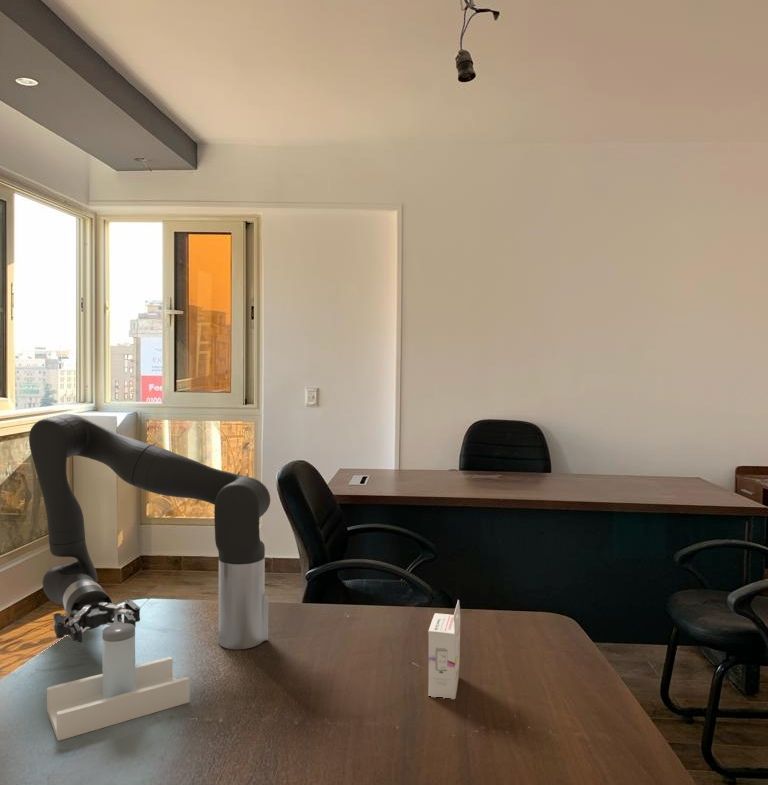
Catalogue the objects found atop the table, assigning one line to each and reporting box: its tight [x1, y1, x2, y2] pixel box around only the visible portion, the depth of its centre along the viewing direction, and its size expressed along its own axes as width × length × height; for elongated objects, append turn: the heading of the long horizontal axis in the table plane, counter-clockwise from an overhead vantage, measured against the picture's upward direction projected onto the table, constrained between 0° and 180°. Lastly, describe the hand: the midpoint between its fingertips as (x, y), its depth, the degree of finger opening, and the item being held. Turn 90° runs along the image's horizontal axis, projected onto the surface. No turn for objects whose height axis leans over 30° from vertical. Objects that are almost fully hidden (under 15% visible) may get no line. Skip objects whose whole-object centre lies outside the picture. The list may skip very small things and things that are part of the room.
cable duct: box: [46, 656, 190, 742], centre depth 107 cm, size 20×10×4 cm, turn 126°
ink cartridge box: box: [427, 599, 461, 700], centre depth 115 cm, size 9×5×15 cm, turn 169°
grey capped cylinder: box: [101, 623, 136, 699], centre depth 107 cm, size 5×5×12 cm
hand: (106, 631), depth 114 cm, fingers open, 8 cm apart
